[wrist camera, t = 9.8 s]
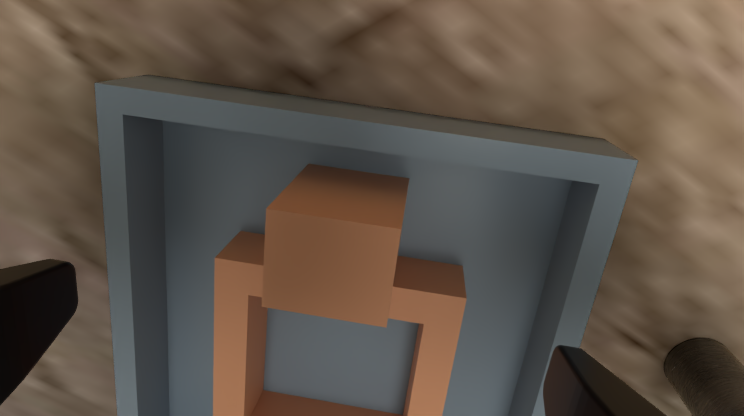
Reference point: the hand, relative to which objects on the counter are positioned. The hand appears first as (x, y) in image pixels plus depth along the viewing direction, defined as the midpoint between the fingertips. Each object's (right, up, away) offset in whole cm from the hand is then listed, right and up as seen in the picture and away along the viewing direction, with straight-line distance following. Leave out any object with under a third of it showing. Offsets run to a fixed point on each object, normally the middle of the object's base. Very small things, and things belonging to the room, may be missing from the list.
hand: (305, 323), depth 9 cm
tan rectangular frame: (0, -1, +7) cm, 7 cm away
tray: (0, -1, +8) cm, 8 cm away
